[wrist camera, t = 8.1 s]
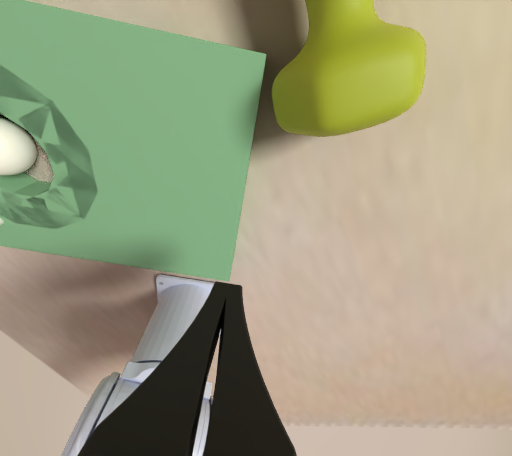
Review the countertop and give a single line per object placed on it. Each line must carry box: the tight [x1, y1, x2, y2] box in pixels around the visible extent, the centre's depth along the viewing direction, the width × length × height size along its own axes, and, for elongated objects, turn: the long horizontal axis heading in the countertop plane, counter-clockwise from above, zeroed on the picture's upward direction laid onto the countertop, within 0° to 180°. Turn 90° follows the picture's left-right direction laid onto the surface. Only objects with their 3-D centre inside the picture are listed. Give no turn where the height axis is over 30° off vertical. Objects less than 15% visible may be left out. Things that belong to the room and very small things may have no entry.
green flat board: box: [0, 0, 266, 281], centre depth 18 cm, size 18×23×2 cm
